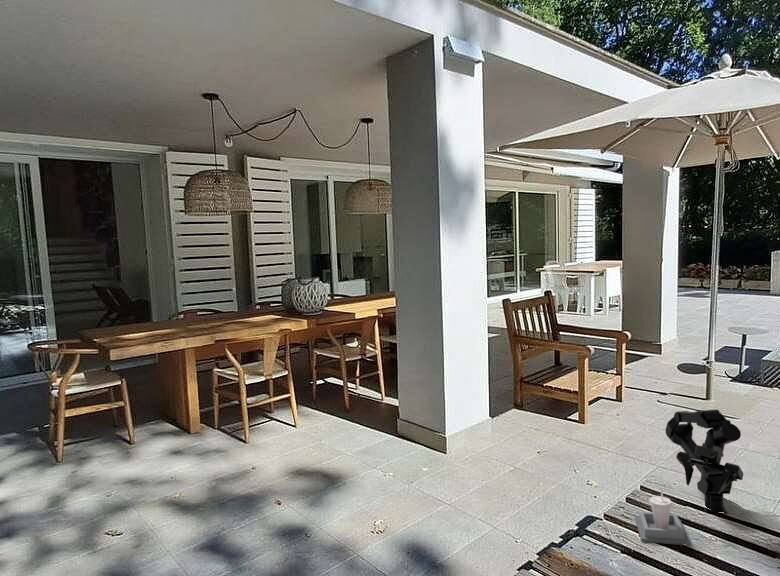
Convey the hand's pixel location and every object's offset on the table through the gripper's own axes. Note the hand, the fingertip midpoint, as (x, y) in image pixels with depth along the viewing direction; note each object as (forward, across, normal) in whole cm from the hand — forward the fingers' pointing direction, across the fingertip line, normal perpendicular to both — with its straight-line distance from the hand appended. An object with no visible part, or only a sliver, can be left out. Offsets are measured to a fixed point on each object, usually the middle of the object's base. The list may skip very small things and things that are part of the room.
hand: (702, 489), depth 172 cm
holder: (+18, -8, 0) cm, 19 cm away
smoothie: (+17, -8, 0) cm, 19 cm away
